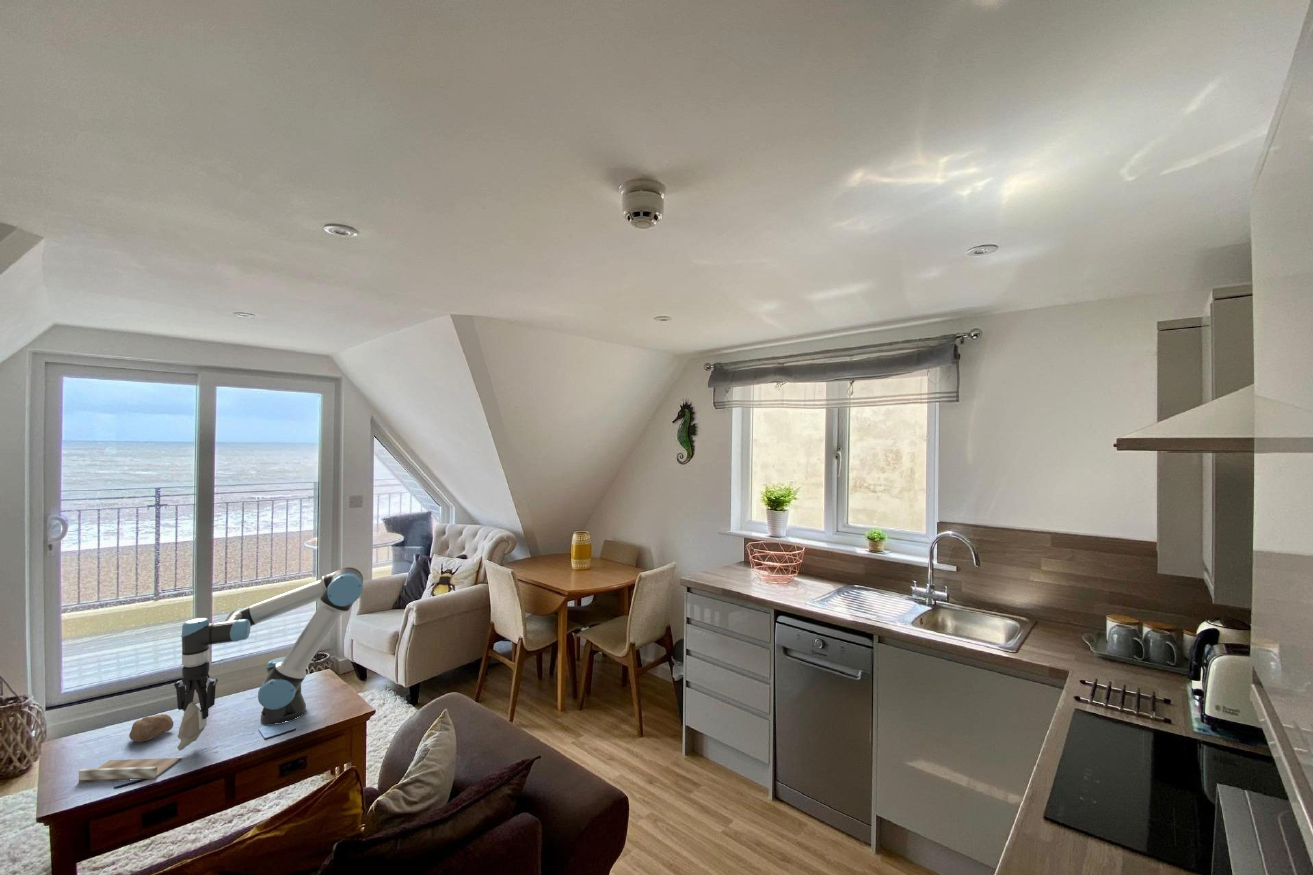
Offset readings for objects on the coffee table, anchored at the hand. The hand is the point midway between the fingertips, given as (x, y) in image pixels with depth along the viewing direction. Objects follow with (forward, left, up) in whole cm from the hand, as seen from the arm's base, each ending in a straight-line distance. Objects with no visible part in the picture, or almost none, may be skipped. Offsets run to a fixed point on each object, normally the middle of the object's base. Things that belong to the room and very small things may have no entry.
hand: (196, 727), depth 197 cm
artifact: (0, +2, -5) cm, 6 cm away
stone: (+26, -9, -8) cm, 28 cm away
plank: (+11, +14, -8) cm, 19 cm away
